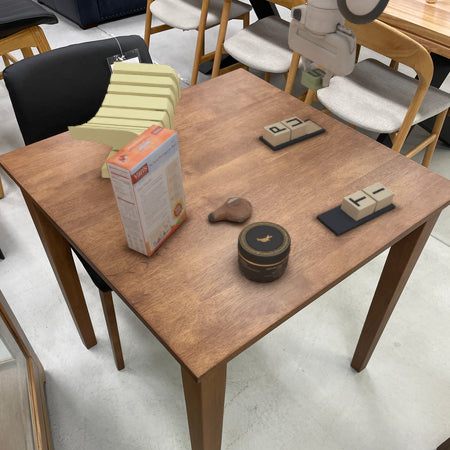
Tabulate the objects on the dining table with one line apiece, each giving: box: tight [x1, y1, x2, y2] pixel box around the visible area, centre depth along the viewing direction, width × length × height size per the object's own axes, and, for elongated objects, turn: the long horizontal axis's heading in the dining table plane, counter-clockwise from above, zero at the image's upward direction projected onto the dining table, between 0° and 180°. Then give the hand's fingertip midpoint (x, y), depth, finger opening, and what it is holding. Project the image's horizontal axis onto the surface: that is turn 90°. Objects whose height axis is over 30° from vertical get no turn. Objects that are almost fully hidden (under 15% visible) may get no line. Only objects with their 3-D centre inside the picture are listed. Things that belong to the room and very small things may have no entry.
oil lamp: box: [207, 196, 253, 223], centre depth 95 cm, size 9×4×8 cm
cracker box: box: [105, 124, 188, 258], centre depth 85 cm, size 14×6×21 cm, turn 149°
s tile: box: [300, 66, 331, 92], centre depth 108 cm, size 5×5×3 cm
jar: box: [236, 221, 292, 283], centre depth 84 cm, size 10×10×8 cm
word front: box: [315, 181, 396, 237], centre depth 95 cm, size 17×7×4 cm, turn 123°
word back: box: [258, 115, 326, 152], centre depth 116 cm, size 17×7×4 cm, turn 123°
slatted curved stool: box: [67, 61, 182, 179], centre depth 102 cm, size 30×16×18 cm, turn 172°
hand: (315, 80), depth 109 cm, fingers closed on s tile, 5 cm apart
